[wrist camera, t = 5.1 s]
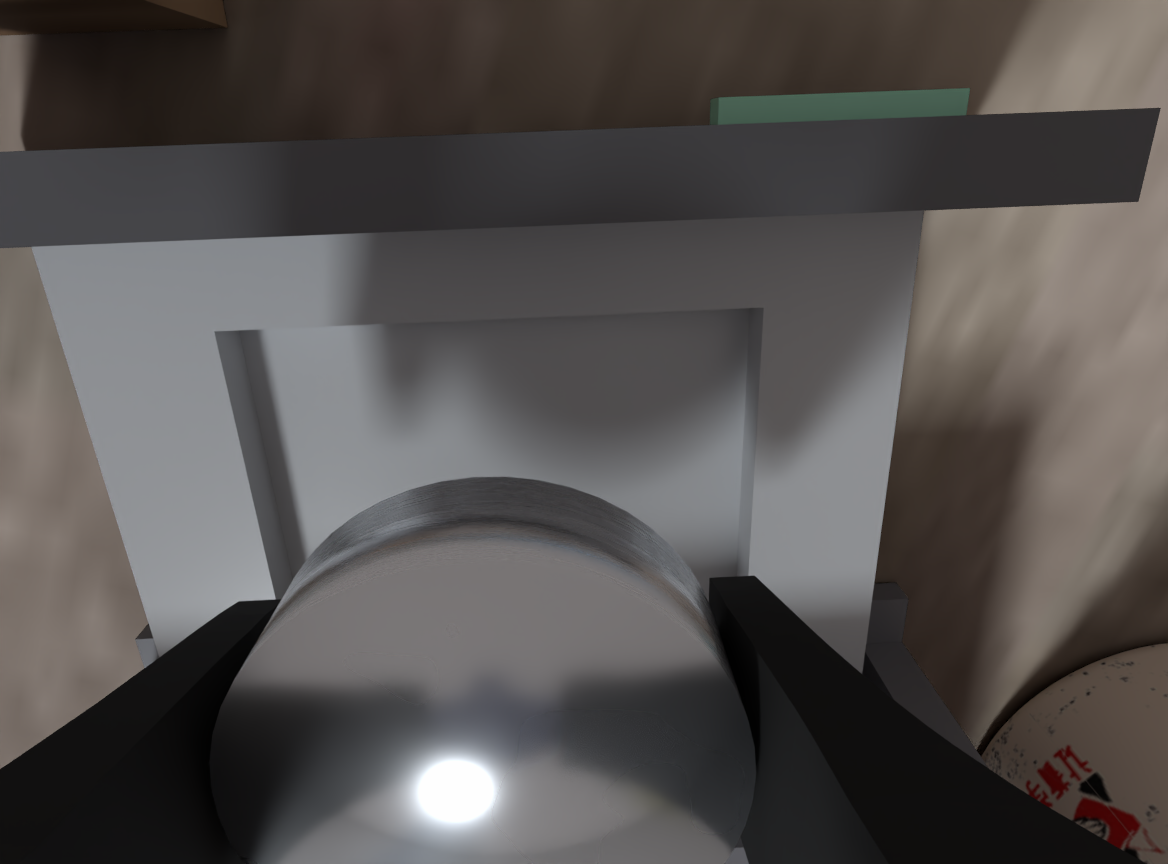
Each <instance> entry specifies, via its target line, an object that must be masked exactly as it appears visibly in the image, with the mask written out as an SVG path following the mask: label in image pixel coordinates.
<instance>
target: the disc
mask: <svg viewBox="0 0 1168 864" xmlns="http://www.w3.org/2000/svg"><path fill="white" fill-rule="evenodd" d="M209 765H210V779H211V790H212V794H213V798H214V802H215V806H216V810H217V814H218V817H219V819H220V822H221V824H222V826H223V828H224V831H225V833H226V835H227V838H228V840H229V842H230V843H231V845H232V846H233V848H234V850H235V851H236V853H237V854H238V856H239V857H240V859H241V861H242V862H243V864H724V863H725V862H726V860H727V859H728V857H729V856H730V854H731V853H732V851H733V850H734V848H735V846H736V844H737V842H738V840H739V838H740V836H741V834H742V832H743V830H744V827H745V825H746V822H747V819H748V815H749V812H750V809H751V805H752V802H753V796H754V788H755V779H756V763H755V747H754V742H753V738H752V734H751V729H750V725H749V721H748V718H747V715H746V712H745V709H744V706H743V703H742V700H741V697H740V694H739V691H738V688H737V684H736V681H735V678H734V675H733V672H732V669H731V666H730V663H729V660H728V657H727V654H726V651H725V648H724V645H723V642H722V639H721V636H720V633H719V630H718V627H717V624H716V621H715V618H714V615H713V612H712V610H711V607H710V605H709V602H708V600H707V598H706V595H705V593H704V590H703V589H702V587H701V585H700V584H699V582H698V580H697V579H696V577H695V575H694V574H693V572H692V571H691V569H690V567H689V566H688V565H687V564H686V563H685V561H684V560H683V559H682V558H681V557H680V555H679V554H678V553H677V552H676V551H675V549H674V548H673V547H672V546H671V545H670V544H669V543H667V542H666V541H665V540H664V539H663V538H662V537H661V536H660V535H658V534H657V533H656V532H655V531H654V530H653V529H652V528H650V527H649V526H648V525H646V524H645V523H643V522H642V521H640V520H639V519H637V518H636V517H634V516H633V515H631V514H630V513H628V512H627V511H625V510H623V509H621V508H619V507H617V506H615V505H613V504H611V503H609V502H607V501H605V500H603V499H601V498H599V497H596V496H593V495H591V494H588V493H585V492H582V491H579V490H577V489H574V488H571V487H567V486H563V485H558V484H554V483H549V482H545V481H541V480H533V479H524V478H514V477H471V478H463V479H456V480H448V481H441V482H437V483H433V484H429V485H426V486H422V487H418V488H414V489H410V490H408V491H405V492H403V493H400V494H398V495H395V496H393V497H390V498H388V499H385V500H383V501H380V502H379V503H377V504H375V505H373V506H371V507H370V508H368V509H366V510H364V511H362V512H361V513H359V514H357V515H355V516H354V517H352V518H351V519H350V520H348V521H347V522H346V523H344V524H343V525H342V526H340V527H339V528H338V529H337V530H335V531H334V532H333V533H331V534H330V535H329V536H328V537H327V538H326V539H325V540H324V541H323V542H322V543H321V544H320V545H319V546H318V547H317V548H316V549H315V550H314V551H313V552H312V554H311V555H310V556H309V558H308V559H307V560H306V562H305V563H304V564H303V566H302V567H301V569H300V570H299V571H298V573H297V574H296V576H295V577H294V579H293V581H292V582H291V584H290V586H289V588H288V589H287V591H286V593H285V594H284V596H283V598H282V599H281V601H280V603H279V605H278V606H277V608H276V610H275V611H274V613H273V615H272V616H271V618H270V620H269V622H268V623H267V625H266V627H265V628H264V630H263V632H262V633H261V635H260V637H259V639H258V640H257V642H256V644H255V645H254V647H253V649H252V650H251V652H250V654H249V656H248V657H247V659H246V661H245V662H244V664H243V666H242V667H241V669H240V671H239V673H238V674H237V676H236V678H235V679H234V681H233V683H232V685H231V687H230V689H229V691H228V693H227V695H226V697H225V699H224V701H223V703H222V705H221V707H220V710H219V714H218V717H217V720H216V724H215V727H214V730H213V734H212V742H211V751H210V760H209Z"/></svg>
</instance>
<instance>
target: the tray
mask: <svg viewBox="0 0 1168 864" xmlns="http://www.w3.org/2000/svg"><path fill="white" fill-rule="evenodd" d="M969 92H970V88H959V89H932V90H905V91H878V92H851V93H824V94H797V95H770V96H743V97H718V98H714V99H710V125H697V126H671V127H644V128H618V129H592V130H565V131H539V132H513V133H486V134H460V135H434V136H407V137H381V138H355V139H329V140H302V141H276V142H250V143H223V144H197V145H171V146H144V147H118V148H92V149H65V150H39V151H13V152H0V248H14V247H32V251H33V254H34V257H35V260H36V263H37V267H38V270H39V273H40V276H41V279H42V283H43V286H44V289H45V292H46V295H47V299H48V302H49V305H50V308H51V312H52V315H53V318H54V321H55V324H56V328H57V331H58V334H59V337H60V340H61V344H62V347H63V350H64V353H65V356H66V360H67V363H68V366H69V369H70V372H71V376H72V379H73V382H74V385H75V389H76V392H77V395H78V398H79V401H80V405H81V408H82V411H83V414H84V417H85V421H86V424H87V427H88V430H89V433H90V437H91V440H92V443H93V446H94V449H95V453H96V456H97V459H98V462H99V466H100V469H101V472H102V475H103V478H104V482H105V485H106V488H107V491H108V494H109V498H110V501H111V504H112V507H113V510H114V514H115V517H116V520H117V523H118V527H119V530H120V533H121V536H122V539H123V543H124V546H125V549H126V552H127V555H128V559H129V562H130V565H131V568H132V571H133V575H134V578H135V581H136V584H137V587H138V591H139V594H140V597H141V600H142V604H143V607H144V610H145V613H146V616H147V620H148V623H149V626H150V629H151V632H152V636H153V639H154V642H155V645H156V648H157V652H158V655H159V657H161V656H162V655H163V654H165V653H166V652H167V651H169V650H170V649H172V648H173V647H174V646H176V645H177V644H178V643H180V642H181V641H182V640H184V639H185V638H186V637H188V636H189V635H190V634H192V633H193V632H195V631H196V630H197V629H199V628H200V627H201V626H203V625H204V624H206V623H207V622H208V621H210V620H211V619H213V618H214V617H215V616H217V615H218V614H220V613H221V612H223V611H224V610H226V609H227V608H229V607H230V606H232V605H234V604H235V603H237V602H238V601H254V600H274V599H282V598H283V596H284V594H285V593H286V591H287V589H288V588H289V586H290V584H291V582H292V581H293V579H294V577H295V576H296V574H297V573H298V571H299V570H300V569H301V567H302V566H303V564H304V563H305V562H306V560H307V559H308V558H309V556H310V555H311V554H312V552H313V551H314V550H315V549H316V548H317V547H318V546H319V545H320V544H321V543H322V542H323V541H324V540H325V539H326V538H327V537H328V536H329V535H330V534H331V533H333V532H334V531H335V530H337V529H338V528H339V527H340V526H342V525H343V524H344V523H346V522H347V521H348V520H350V519H351V518H352V517H354V516H355V515H357V514H359V513H361V512H362V511H364V510H366V509H368V508H370V507H371V506H373V505H375V504H377V503H379V502H380V501H383V500H385V499H388V498H390V497H393V496H395V495H398V494H400V493H403V492H405V491H408V490H410V489H414V488H418V487H422V486H426V485H429V484H433V483H437V482H441V481H448V480H456V479H463V478H471V477H514V478H524V479H533V480H541V481H545V482H549V483H554V484H558V485H563V486H567V487H571V488H574V489H577V490H579V491H582V492H585V493H588V494H591V495H593V496H596V497H599V498H601V499H603V500H605V501H607V502H609V503H611V504H613V505H615V506H617V507H619V508H621V509H623V510H625V511H627V512H628V513H630V514H631V515H633V516H634V517H636V518H637V519H639V520H640V521H642V522H643V523H645V524H646V525H648V526H649V527H650V528H652V529H653V530H654V531H655V532H656V533H657V534H658V535H660V536H661V537H662V538H663V539H664V540H665V541H666V542H667V543H669V544H670V545H671V546H672V547H673V548H674V549H675V551H676V552H677V553H678V554H679V555H680V557H681V558H682V559H683V560H684V561H685V563H686V564H687V565H688V566H689V567H690V569H691V571H692V572H693V574H694V575H695V577H696V579H697V580H698V582H699V584H700V585H701V587H702V589H703V590H704V593H705V595H706V598H707V600H708V602H709V578H715V577H735V576H756V577H757V578H758V579H759V580H760V581H761V582H762V583H763V584H764V585H765V586H766V587H767V588H768V589H769V590H771V591H772V592H773V593H774V594H775V595H776V596H777V597H778V598H779V599H780V600H781V601H782V602H783V603H784V604H785V605H786V606H787V607H788V608H790V609H791V610H792V611H793V612H794V613H795V614H796V615H797V616H798V617H799V618H800V619H801V620H802V621H803V622H804V623H805V624H807V625H808V626H809V627H810V628H811V629H812V630H813V631H814V632H815V633H816V634H817V635H818V636H819V637H821V638H822V639H823V640H824V641H825V642H826V643H827V644H828V645H829V646H830V647H832V648H833V649H834V650H835V651H836V652H837V653H838V654H840V655H841V656H842V657H843V658H844V659H845V660H846V661H848V662H849V663H850V664H851V665H852V666H853V667H854V668H856V669H857V670H858V671H859V672H860V673H861V674H862V671H863V664H864V656H865V649H866V641H867V634H868V626H869V619H870V611H871V604H872V596H873V589H874V581H875V574H876V566H877V559H878V551H879V544H880V536H881V529H882V521H883V514H884V506H885V499H886V491H887V484H888V476H889V469H890V461H891V454H892V446H893V439H894V431H895V424H896V416H897V409H898V401H899V394H900V386H901V379H902V371H903V364H904V356H905V349H906V341H907V334H908V326H909V319H910V311H911V304H912V296H913V289H914V281H915V274H916V266H917V259H918V251H919V244H920V236H921V229H922V221H923V214H924V210H945V209H970V208H994V207H1019V206H1043V205H1068V204H1092V203H1117V202H1138V201H1139V197H1140V192H1141V188H1142V184H1143V180H1144V176H1145V171H1146V167H1147V163H1148V159H1149V155H1150V150H1151V146H1152V142H1153V138H1154V134H1155V129H1156V125H1157V121H1158V117H1159V113H1160V108H1145V109H1118V110H1092V111H1066V112H1039V113H1013V114H987V115H966V113H967V106H968V99H969Z"/></svg>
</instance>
